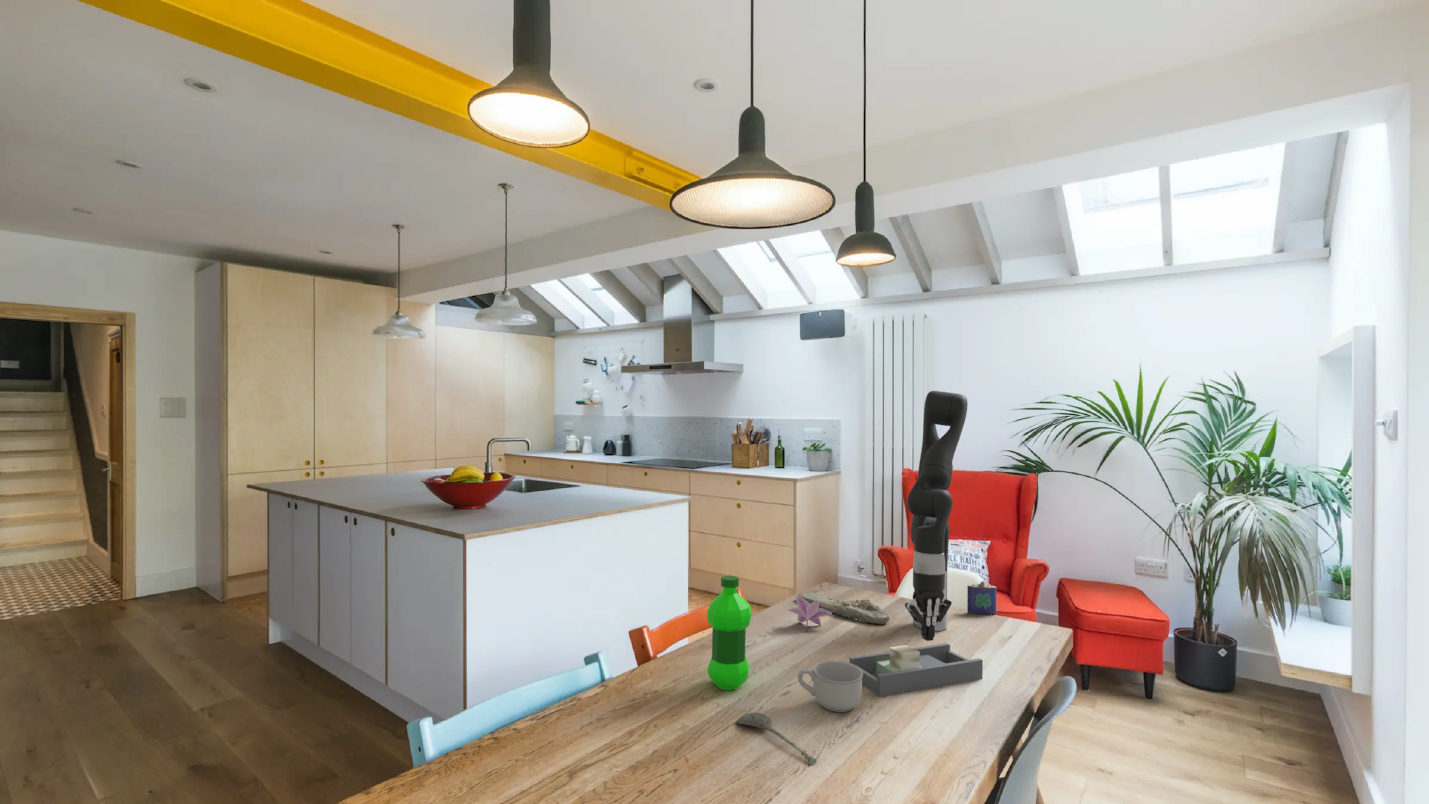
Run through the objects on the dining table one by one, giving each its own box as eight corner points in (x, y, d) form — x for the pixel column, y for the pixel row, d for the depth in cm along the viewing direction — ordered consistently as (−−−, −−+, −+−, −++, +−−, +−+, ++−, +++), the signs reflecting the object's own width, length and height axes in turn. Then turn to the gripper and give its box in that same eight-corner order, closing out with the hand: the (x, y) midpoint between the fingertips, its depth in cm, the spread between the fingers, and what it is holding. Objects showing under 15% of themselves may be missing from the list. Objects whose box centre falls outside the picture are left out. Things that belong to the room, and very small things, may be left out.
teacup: (865, 699, 147) (865, 663, 147) (859, 721, 136) (859, 682, 137) (803, 690, 151) (803, 655, 151) (793, 710, 141) (794, 672, 141)
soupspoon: (756, 718, 139) (730, 727, 136) (755, 702, 139) (729, 711, 136) (826, 761, 121) (799, 773, 117) (825, 743, 121) (798, 754, 117)
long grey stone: (809, 601, 229) (790, 608, 222) (808, 586, 229) (789, 592, 222) (897, 620, 203) (878, 629, 196) (896, 603, 203) (877, 611, 196)
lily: (837, 635, 192) (836, 602, 197) (813, 627, 185) (812, 593, 190) (804, 639, 200) (804, 607, 205) (779, 631, 193) (780, 598, 198)
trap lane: (848, 675, 160) (849, 657, 160) (946, 660, 171) (946, 643, 171) (879, 696, 148) (880, 676, 149) (982, 678, 160) (982, 660, 160)
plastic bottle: (759, 685, 154) (760, 577, 154) (729, 698, 146) (731, 586, 146) (727, 673, 160) (729, 570, 161) (697, 685, 153) (699, 577, 153)
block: (889, 663, 160) (889, 647, 160) (906, 661, 162) (906, 645, 162) (902, 671, 156) (902, 654, 156) (919, 668, 157) (919, 651, 158)
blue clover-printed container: (994, 612, 214) (995, 580, 214) (998, 615, 211) (998, 582, 211) (966, 612, 215) (966, 579, 215) (969, 614, 212) (969, 581, 212)
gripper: (940, 563, 168) (938, 631, 168) (897, 567, 163) (896, 637, 163) (961, 571, 161) (959, 641, 161) (917, 575, 156) (915, 648, 156)
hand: (927, 639), depth 162 cm, fingers closed
